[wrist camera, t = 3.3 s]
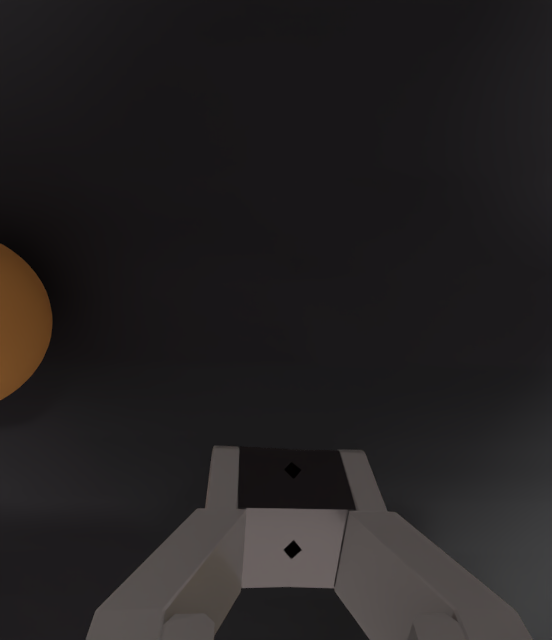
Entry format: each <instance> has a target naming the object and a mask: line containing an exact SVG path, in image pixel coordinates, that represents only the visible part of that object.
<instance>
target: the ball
mask: <svg viewBox="0 0 552 640" xmlns="http://www.w3.org/2000/svg"><path fill="white" fill-rule="evenodd" d="M52 323H53V322H52V311H51V306H50V301H49V298H48V295H47V292H46V290H45V288H44V286H43V284H42V282H41V280H40V279H39V277H38V276H37V274H36V273H35V272H34V271H33V269H32V268H31V267H30V266H29V265H28V264H27V263H26V262H25V261H24V260H23V259H22V258H21V257H20V256H19V255H17V254H16V253H15V252H13V251H12V250H11V249H9V248H7V247H6V246H4V245H3V244H1V243H0V400H2V399H4V398H5V397H7V396H8V395H10V394H12V393H13V392H14V391H15V390H17V389H18V388H19V387H21V386H22V385H23V384H24V383H25V382H26V381H27V380H28V379H29V378H30V377H31V376H32V374H33V373H34V372H35V370H36V369H37V368H38V366H39V365H40V363H41V362H42V360H43V358H44V355H45V353H46V351H47V348H48V346H49V342H50V339H51V333H52Z"/></svg>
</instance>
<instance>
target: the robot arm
mask: <svg viewBox="0 0 552 640" xmlns="http://www.w3.org/2000/svg"><path fill="white" fill-rule="evenodd" d="M264 587H307V588H335V590H334V591H335V593H336V594H337V595H338V597H339V598H340V599H341V601H342V602H343V604H344V605H345V606H346V608H347V609H348V610H349V612H350V613H351V615H352V616H353V617H354V619H355V620H356V621H357V623H358V624H359V626H360V627H361V628H362V630H363V631H364V632H365V634H366V635H367V637H368V638H369V639H370V640H533V639H532V637H531V636H530V634H529V632H528V630H527V629H526V627H525V625H524V623H523V622H522V620H521V618H520V616H519V615H518V613H517V611H516V610H515V609H513V608H512V607H511V606H510V605H508V604H507V603H506V602H505V601H504V600H502V599H501V598H500V597H499V596H497V595H496V594H495V593H494V592H493V591H491V590H490V589H489V588H488V587H486V586H485V585H484V584H483V583H482V582H480V581H479V580H478V579H477V578H476V577H474V576H473V575H472V574H471V573H469V572H468V571H467V570H466V569H465V568H463V567H462V566H461V565H460V564H458V563H457V562H456V561H455V560H454V559H452V558H451V557H450V556H449V555H447V554H446V553H445V552H444V551H443V550H441V549H440V548H439V547H438V546H436V545H435V544H434V543H433V542H432V541H430V540H429V539H428V538H427V537H425V536H424V535H423V534H422V533H421V532H419V531H418V530H417V529H416V528H414V527H413V526H412V525H411V524H410V523H408V522H407V521H406V520H405V519H404V518H402V517H401V516H400V515H399V514H397V513H396V512H388V511H387V509H386V506H385V503H384V501H383V498H382V496H381V493H380V490H379V488H378V485H377V483H376V480H375V477H374V475H373V472H372V470H371V467H370V464H369V462H368V459H367V457H366V454H365V452H364V451H363V450H302V449H281V448H261V447H242V446H240V452H239V447H238V446H214V447H213V450H212V456H211V464H210V472H209V480H208V488H207V496H206V504H205V508H197V509H196V510H195V511H194V512H193V513H192V514H191V515H190V516H189V517H188V518H187V519H186V520H185V521H184V522H183V523H182V524H181V525H180V526H179V527H178V528H177V529H176V530H175V531H174V532H173V533H172V534H171V535H170V536H169V537H168V538H167V539H166V540H165V541H164V542H163V543H162V544H161V545H160V546H159V547H158V548H157V549H156V550H155V551H154V552H153V553H152V554H151V555H150V556H149V557H148V558H147V559H146V560H145V561H144V562H143V563H142V564H141V565H140V566H139V567H138V568H137V569H136V570H135V571H134V572H133V573H132V574H131V575H130V576H129V577H128V578H127V579H126V580H125V581H124V582H123V583H122V584H121V585H120V586H119V587H118V588H117V589H116V590H115V591H114V592H113V593H112V594H111V595H110V596H109V597H108V598H107V599H106V600H105V601H104V602H103V603H102V604H101V605H100V606H99V607H98V608H97V609H96V610H95V613H94V616H93V619H92V622H91V625H90V628H89V631H88V634H87V637H86V640H214V636H215V634H216V632H217V631H218V629H219V627H220V626H221V624H222V622H223V621H224V619H225V617H226V616H227V614H228V612H229V611H230V609H231V607H232V606H233V604H234V602H235V601H236V599H237V597H238V595H239V594H240V592H241V588H264Z"/></svg>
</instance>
